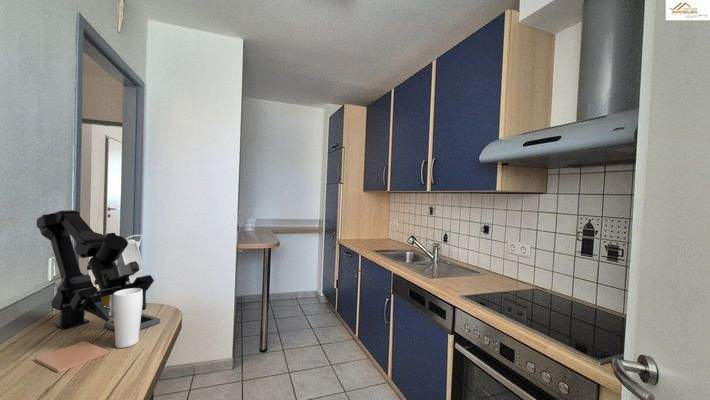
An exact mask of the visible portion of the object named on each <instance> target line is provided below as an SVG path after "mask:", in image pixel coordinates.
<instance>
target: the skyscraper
mask: <svg viewBox="0 0 710 400" xmlns="http://www.w3.org/2000/svg"><path fill="white" fill-rule="evenodd" d="M133 237H140V239H139V241H137V240H135V239H130V238H133ZM143 237H144V235H143V234H133V235H129V236H128V237H125V239H126V240H127V241H128V245H127V247H126V249H125V250H124V252H123V253H122V255H121V256H120V258H119V259H118V260H116V265H117V266H121V265H127V264H128V263H130V262H134V261H136V262H137V263H138V265H139V268H140V269H139V271H138V272H136V273H134V275H131V276H129V278H130V279H129V281H127V282H126V284H130V283H133V282H134V281H135V279H136V278H137V277H141V276H143V261H142V255H141V252H140V249H139V248H140V246H141V242H142V240H143ZM108 315H109V318H112V319H114V318H113V294H112V295H110V305H109V311H108Z"/></svg>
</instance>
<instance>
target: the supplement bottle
mask: <svg viewBox="0 0 710 400" xmlns="http://www.w3.org/2000/svg"><path fill="white" fill-rule="evenodd" d="M98 290H100V288H98ZM101 301H102V303H103V305H104V306H106V307H105V309H106V311H107V312H109V308H107V307H109V305H110V295H108V296H104V297H101Z"/></svg>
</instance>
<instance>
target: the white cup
mask: <svg viewBox="0 0 710 400" xmlns="http://www.w3.org/2000/svg"><path fill="white" fill-rule="evenodd" d="M142 305H143V290H142V289H140V288H130V289H124V290H120V291H117V292H115V293H114V294H113V318H112V319H113V320H114V329H115V332H114V340H115V341H114V343H115V347H116V348H117V349H126V348H130V347H133V346H135V345H137V344H139V340H140V331H141V330H140V322H141V314H143V313H142V312H143V310H142Z"/></svg>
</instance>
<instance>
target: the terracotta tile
mask: <svg viewBox="0 0 710 400" xmlns="http://www.w3.org/2000/svg"><path fill="white" fill-rule="evenodd" d="M108 354H109V350H108V349H105V348H103V347H100V346H97V345H95V344H92V343H91V342H88V341H85V340H83V341H81V342H78V343H75V344H72V345H69V346H66V347H63V348H60V349H57V350H54V351H51V352H48V353H45V354H42V355H39V356H36V357H35V358H34V361H35V362H36V363H39V364H41V365H43V366H45V367H46V368H48V369H51V370H52V371H54V372H55V373H59V374H60V373H62V372H64V371H67V370H70V369H72V368H74V367H76V366H80V365H82V364H85V363H87V362H90V361H92V360H94V359H97V358H100V357H102V356H104V355H108Z"/></svg>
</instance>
